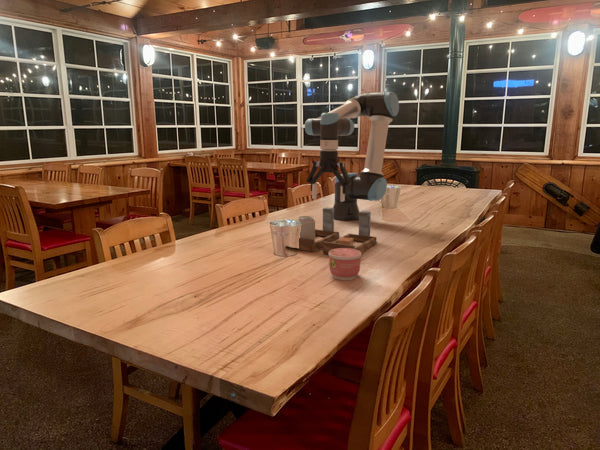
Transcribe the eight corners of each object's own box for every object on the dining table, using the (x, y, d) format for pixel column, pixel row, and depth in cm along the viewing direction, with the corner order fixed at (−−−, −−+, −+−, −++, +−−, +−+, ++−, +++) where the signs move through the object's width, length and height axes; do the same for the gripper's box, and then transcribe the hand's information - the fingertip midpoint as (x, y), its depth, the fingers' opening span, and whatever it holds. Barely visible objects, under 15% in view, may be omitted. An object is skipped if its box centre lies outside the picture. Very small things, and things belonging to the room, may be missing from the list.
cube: (340, 249, 172) (341, 237, 170) (353, 250, 170) (353, 238, 169) (337, 252, 167) (337, 240, 166) (350, 254, 165) (350, 241, 164)
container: (327, 270, 147) (328, 247, 145) (359, 270, 146) (359, 247, 144) (328, 281, 136) (329, 257, 135) (362, 281, 136) (363, 257, 134)
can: (313, 249, 172) (313, 219, 169) (294, 248, 173) (294, 218, 170) (316, 244, 179) (316, 215, 176) (298, 243, 180) (298, 214, 178)
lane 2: (352, 236, 189) (353, 209, 186) (379, 240, 183) (380, 212, 180) (322, 253, 166) (323, 222, 163) (352, 257, 159) (353, 226, 157)
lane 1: (317, 232, 197) (318, 206, 195) (342, 235, 191) (343, 208, 189) (284, 247, 174) (284, 217, 171) (312, 251, 168) (312, 221, 165)
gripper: (299, 149, 187) (298, 198, 192) (352, 151, 175) (351, 203, 180) (307, 149, 194) (307, 196, 198) (359, 150, 181) (358, 201, 186)
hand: (328, 200), depth 189 cm, fingers open, 13 cm apart
